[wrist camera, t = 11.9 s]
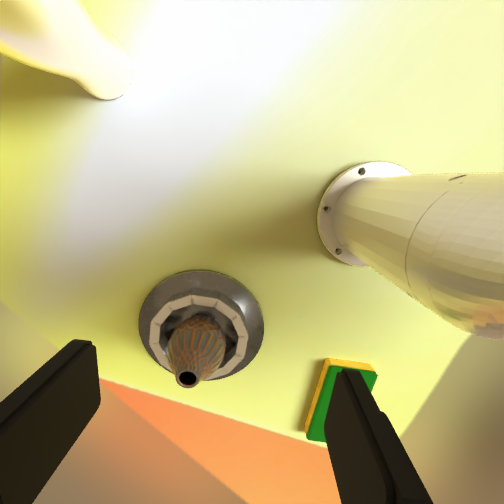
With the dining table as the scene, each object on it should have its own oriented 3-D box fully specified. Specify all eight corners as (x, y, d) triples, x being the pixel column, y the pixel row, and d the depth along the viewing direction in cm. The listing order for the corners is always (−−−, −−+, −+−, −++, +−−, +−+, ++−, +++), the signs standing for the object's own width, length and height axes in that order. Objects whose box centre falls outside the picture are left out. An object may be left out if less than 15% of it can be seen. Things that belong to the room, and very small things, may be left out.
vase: (179, 351, 35) (156, 405, 27) (175, 307, 33) (150, 350, 25) (228, 351, 35) (221, 405, 27) (227, 307, 33) (219, 350, 25)
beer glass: (92, 115, 27) (-84, 44, 13) (55, 43, 25) (-197, -133, 11) (149, 89, 27) (32, -15, 12) (116, 14, 25) (-67, -214, 10)
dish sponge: (370, 362, 38) (379, 374, 35) (344, 431, 41) (350, 446, 39) (325, 355, 37) (330, 367, 35) (303, 425, 41) (306, 440, 39)
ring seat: (274, 281, 33) (277, 290, 30) (251, 383, 38) (252, 400, 35) (145, 259, 32) (134, 268, 29) (138, 368, 37) (128, 384, 34)
